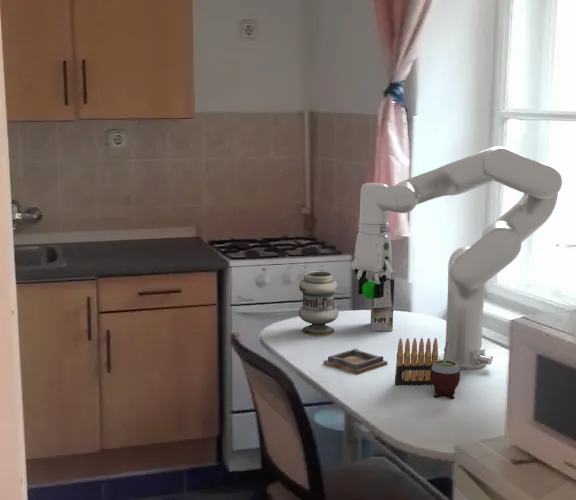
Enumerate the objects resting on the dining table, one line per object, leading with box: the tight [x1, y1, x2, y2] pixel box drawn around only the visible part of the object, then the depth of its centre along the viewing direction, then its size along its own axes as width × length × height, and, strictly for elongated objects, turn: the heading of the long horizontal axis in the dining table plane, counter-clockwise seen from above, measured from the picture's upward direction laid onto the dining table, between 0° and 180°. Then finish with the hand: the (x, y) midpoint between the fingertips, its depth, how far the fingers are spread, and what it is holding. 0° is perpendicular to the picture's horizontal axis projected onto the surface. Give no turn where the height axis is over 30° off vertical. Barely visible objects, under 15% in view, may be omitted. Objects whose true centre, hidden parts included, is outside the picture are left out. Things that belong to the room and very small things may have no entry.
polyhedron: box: [362, 280, 376, 300], centre depth 231 cm, size 5×5×5 cm
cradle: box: [323, 348, 388, 375], centre depth 228 cm, size 12×12×2 cm
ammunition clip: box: [394, 337, 439, 387], centre depth 212 cm, size 11×2×12 cm, turn 94°
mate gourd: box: [430, 341, 461, 400], centre depth 204 cm, size 8×8×15 cm
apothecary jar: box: [298, 270, 340, 337], centre depth 258 cm, size 12×12×18 cm
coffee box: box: [370, 273, 395, 332], centre depth 264 cm, size 9×6×16 cm
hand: (370, 294), depth 232 cm, fingers closed on polyhedron, 5 cm apart
